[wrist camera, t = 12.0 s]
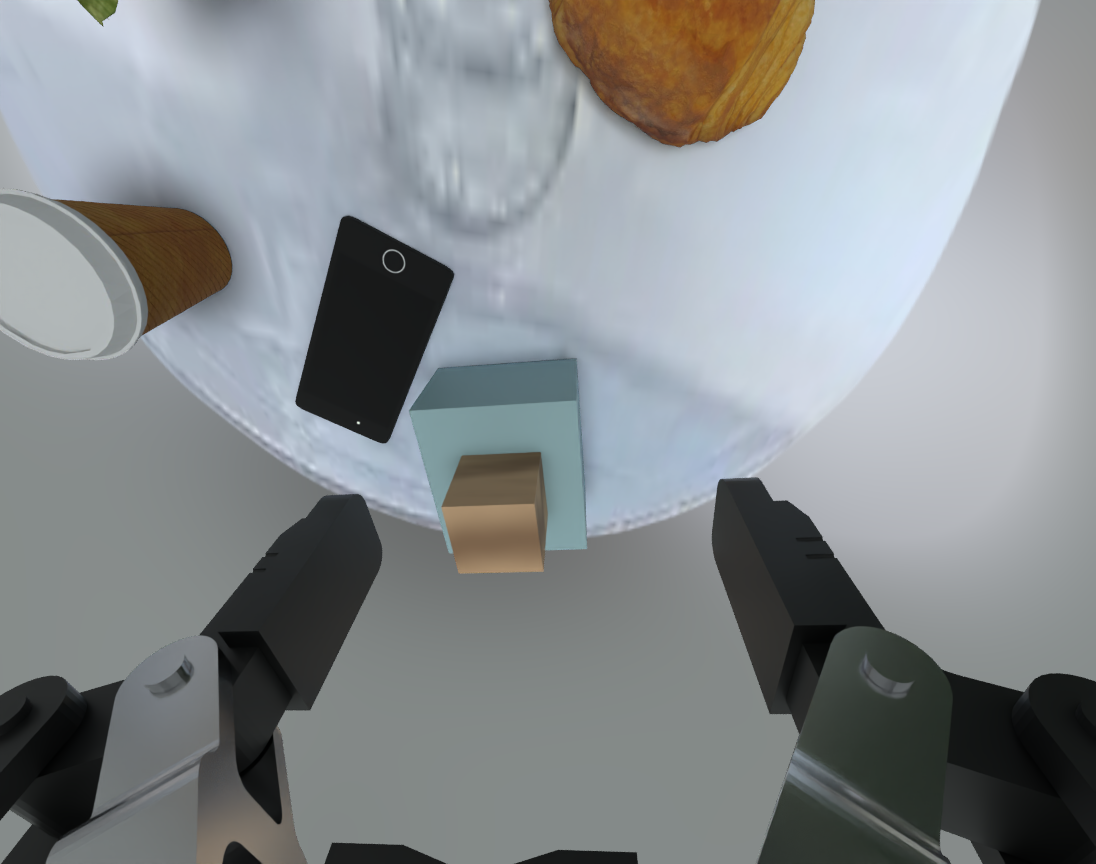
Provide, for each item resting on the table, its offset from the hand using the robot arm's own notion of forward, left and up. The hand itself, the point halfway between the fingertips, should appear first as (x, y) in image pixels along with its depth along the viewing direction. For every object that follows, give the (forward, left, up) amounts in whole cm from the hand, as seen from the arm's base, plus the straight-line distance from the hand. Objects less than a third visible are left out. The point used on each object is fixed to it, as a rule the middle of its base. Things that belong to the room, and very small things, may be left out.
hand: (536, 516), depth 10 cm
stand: (+14, -6, -28) cm, 32 cm away
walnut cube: (+14, -5, -20) cm, 25 cm away
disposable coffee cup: (-4, -29, -28) cm, 41 cm away
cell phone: (+4, -17, -29) cm, 34 cm away
